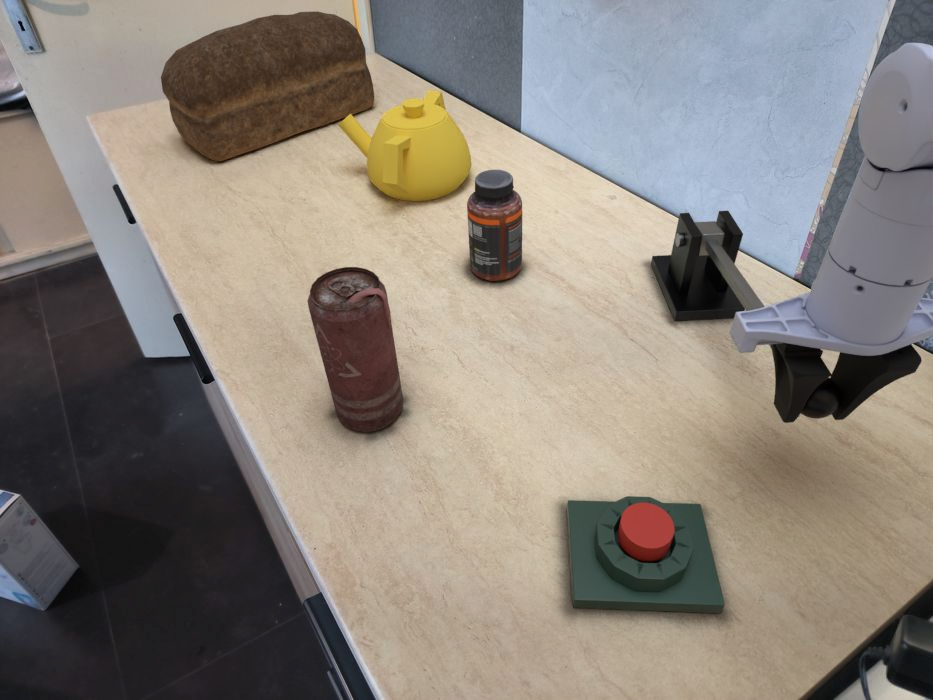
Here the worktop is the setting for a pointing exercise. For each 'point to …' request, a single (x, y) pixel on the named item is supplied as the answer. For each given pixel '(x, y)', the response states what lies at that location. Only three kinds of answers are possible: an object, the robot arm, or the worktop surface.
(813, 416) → the grey lever handle
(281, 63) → the bread
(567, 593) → the worktop surface
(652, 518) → the button
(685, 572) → the button box
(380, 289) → the can
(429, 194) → the teapot
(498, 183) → the supplement bottle
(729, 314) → the bracket
